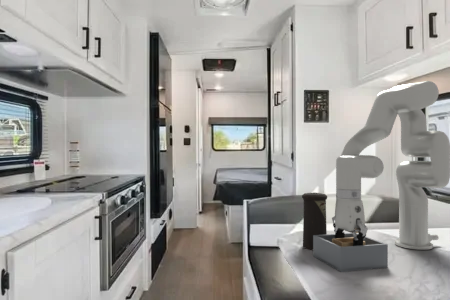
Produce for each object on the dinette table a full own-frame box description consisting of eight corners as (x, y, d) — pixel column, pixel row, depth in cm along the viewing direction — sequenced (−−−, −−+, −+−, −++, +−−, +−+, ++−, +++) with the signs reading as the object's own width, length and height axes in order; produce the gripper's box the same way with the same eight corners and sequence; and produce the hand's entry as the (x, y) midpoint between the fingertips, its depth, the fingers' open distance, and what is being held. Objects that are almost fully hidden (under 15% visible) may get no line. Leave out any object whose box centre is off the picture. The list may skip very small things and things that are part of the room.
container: (328, 251, 123) (328, 194, 123) (302, 249, 125) (302, 193, 125) (326, 245, 131) (326, 191, 132) (301, 243, 133) (301, 191, 133)
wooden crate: (353, 255, 115) (353, 237, 115) (365, 260, 109) (365, 241, 109) (332, 257, 113) (332, 238, 113) (342, 262, 107) (342, 243, 107)
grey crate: (355, 253, 121) (355, 232, 121) (387, 267, 105) (387, 244, 106) (313, 256, 117) (313, 235, 117) (340, 272, 101) (340, 247, 101)
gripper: (376, 197, 104) (377, 255, 104) (343, 191, 121) (343, 241, 121) (354, 198, 102) (354, 257, 102) (323, 192, 119) (323, 242, 119)
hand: (348, 248), depth 111 cm, fingers open, 9 cm apart
